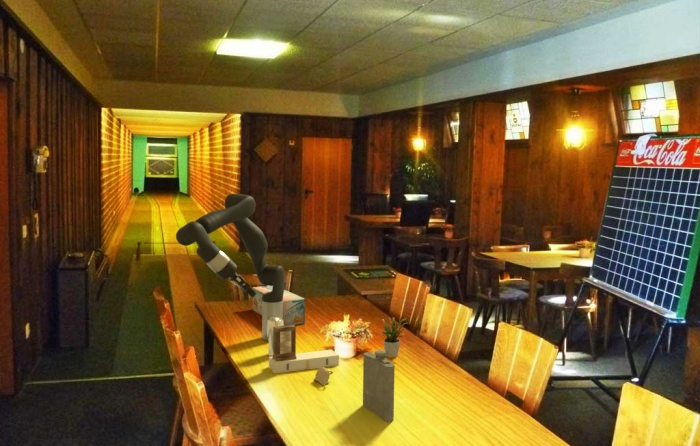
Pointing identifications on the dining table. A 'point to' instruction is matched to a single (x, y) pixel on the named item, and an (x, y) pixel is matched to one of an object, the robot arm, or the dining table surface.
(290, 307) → the soda box
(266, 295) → the robot arm
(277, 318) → the beer glass
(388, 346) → the house plant
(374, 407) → the hip flask
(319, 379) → the decorative ornament
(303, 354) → the picture ledge
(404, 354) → the dining table surface
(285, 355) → the picture frame
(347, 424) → the dining table surface
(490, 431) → the dining table surface
